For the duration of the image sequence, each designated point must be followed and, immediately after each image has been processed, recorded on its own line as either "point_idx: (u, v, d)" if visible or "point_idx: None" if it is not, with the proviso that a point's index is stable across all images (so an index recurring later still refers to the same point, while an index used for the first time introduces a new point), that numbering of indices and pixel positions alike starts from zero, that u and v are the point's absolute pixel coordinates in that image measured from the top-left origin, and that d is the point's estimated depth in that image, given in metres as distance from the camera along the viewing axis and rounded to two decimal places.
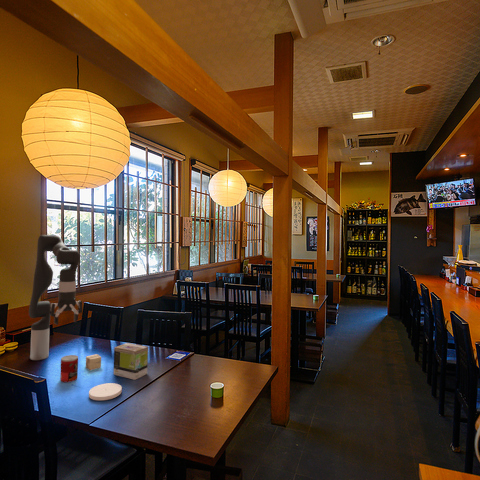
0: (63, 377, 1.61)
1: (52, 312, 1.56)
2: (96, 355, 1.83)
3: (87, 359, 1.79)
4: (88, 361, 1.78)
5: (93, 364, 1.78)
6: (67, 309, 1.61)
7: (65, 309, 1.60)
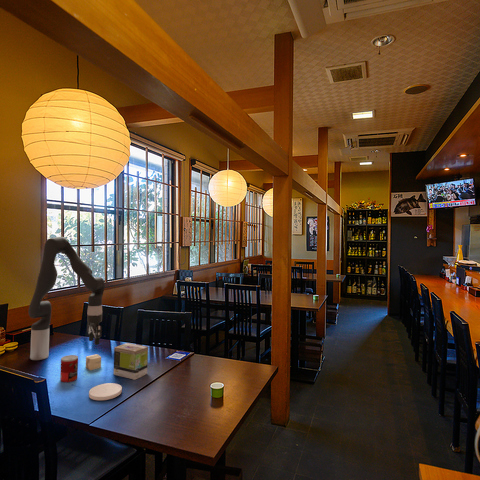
0: (63, 377, 1.61)
1: None
2: (96, 355, 1.83)
3: (87, 359, 1.79)
4: (88, 361, 1.78)
5: (93, 364, 1.78)
6: None
7: None
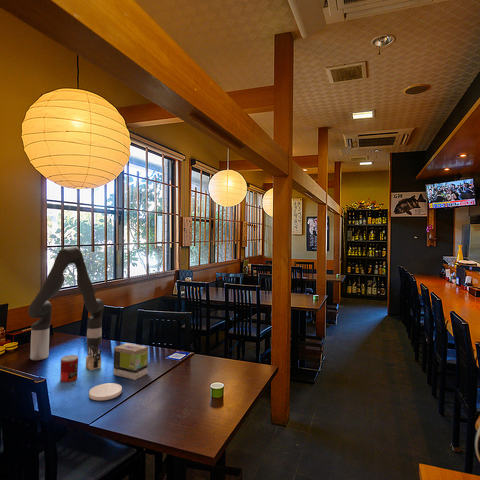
0: (63, 377, 1.61)
1: None
2: None
3: (87, 359, 1.79)
4: (88, 361, 1.78)
5: (93, 364, 1.78)
6: None
7: None
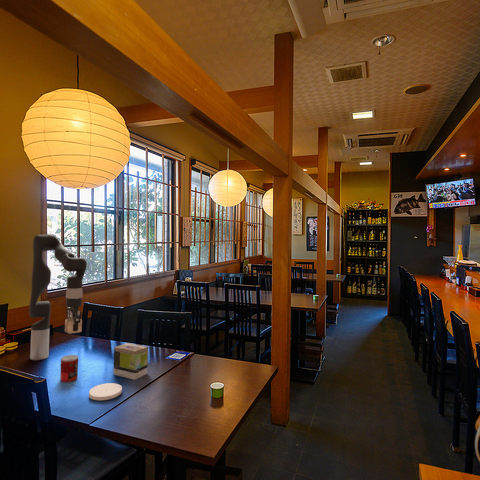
0: (63, 377, 1.61)
1: None
2: None
3: (66, 322, 1.64)
4: (67, 324, 1.63)
5: None
6: None
7: None
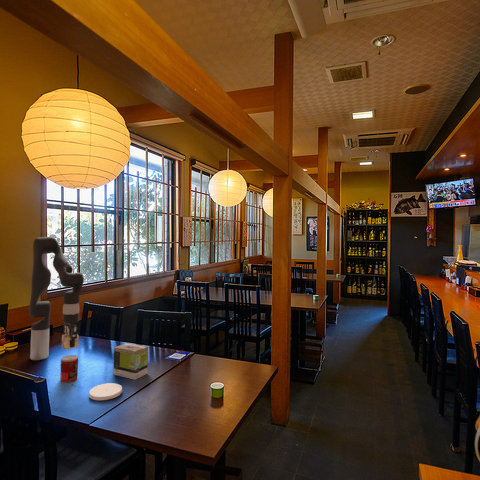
0: (63, 377, 1.61)
1: None
2: None
3: (63, 338, 1.63)
4: (64, 340, 1.62)
5: (69, 343, 1.62)
6: None
7: None
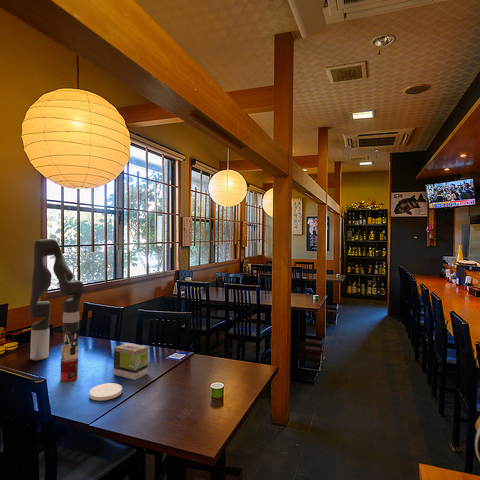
0: (63, 377, 1.61)
1: None
2: None
3: (63, 348, 1.63)
4: (64, 351, 1.62)
5: (69, 354, 1.62)
6: None
7: None
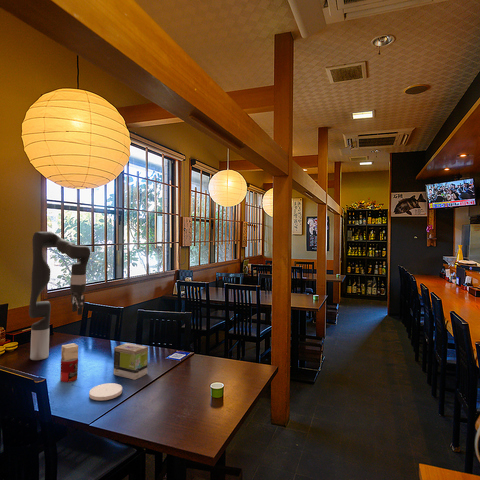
0: (63, 377, 1.61)
1: None
2: (73, 344, 1.67)
3: (62, 348, 1.63)
4: (64, 350, 1.62)
5: (69, 354, 1.62)
6: None
7: None
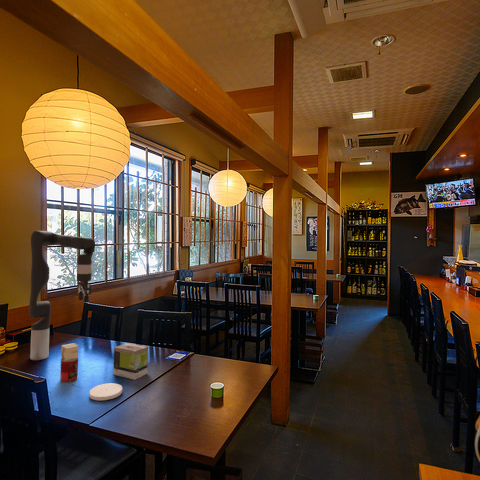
0: (63, 377, 1.61)
1: None
2: (73, 344, 1.67)
3: (63, 348, 1.63)
4: (64, 350, 1.62)
5: (69, 354, 1.62)
6: None
7: None
